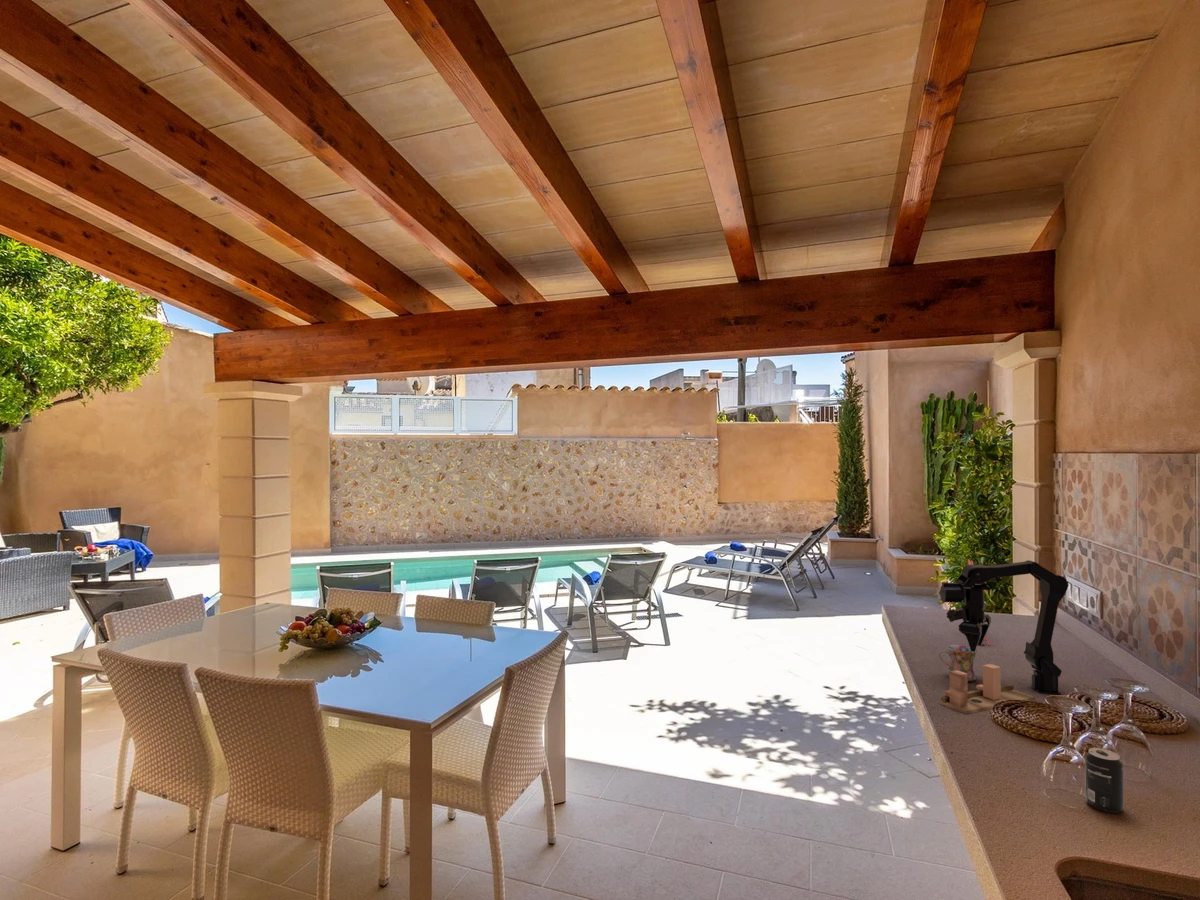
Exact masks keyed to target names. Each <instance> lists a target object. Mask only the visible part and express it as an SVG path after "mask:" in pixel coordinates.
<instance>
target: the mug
mask: <svg viewBox="0 0 1200 900" xmlns="http://www.w3.org/2000/svg"><path fill="white" fill-rule="evenodd" d="M947 650H948V651H947ZM947 650H940V651H939V653H938V657H939V658H940V660H941V661H942V662H943V663H944V664H945V665H946V666H948V670H950V671H956V670H958V671H961V672H964V673H967V682H972V681H976V679H977V676H976V675H975V672H974V660H975V657H976V655H977V653H978V650H977V649H976V650H975V652H973V651H971V649H970V646H969V645H965V646H963V645H962V644H961V645H960V644H952V645H948V646H947ZM941 653H946V654H947V655H948V656H949V658H950V660H951V661H950V662H951V665H950V664H948V663H947V662H946V661H945V660H943V658H942V657H941ZM950 671H949V672H950ZM948 676H949V677H950V675H949V674H948Z"/></svg>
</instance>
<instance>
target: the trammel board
mask: <svg viewBox="0 0 1200 900" xmlns="http://www.w3.org/2000/svg"><path fill="white" fill-rule="evenodd" d="M949 675H950V676H949ZM948 676H949V689H948V690H943V691H942V694H943V695H941V696H940V701H939V702H940V705H942V706H944V707H947V708H949V709H952V710H954V711H957V712H960V713H961V714H963V715H970V714H973V713H979V712H985V711H989V710H992V709H991V707H992V706H993V705H994V704H995V703H996V702H1001V701H1006V700H1034V701H1036V697H1035V696H1033V695H1031V694H1027V693H1024V692H1021V691H1018V690H1015V689H1014V684H1011V683H1006V684H1001V698H1000V699H995V700H992V699H989V698H987V697H984V696H983V690H980V689H974V690H969V691H968V681H967V673H964V672H961V671H958V670H956V671H949V672H948Z"/></svg>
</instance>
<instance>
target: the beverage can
mask: <svg viewBox="0 0 1200 900" xmlns="http://www.w3.org/2000/svg"><path fill="white" fill-rule="evenodd" d="M1120 757H1121V756H1120V755H1119V754H1118V753H1116V752H1114V751H1113V750H1112V751H1111V750H1109V749H1105V748H1099V747H1092V748H1088V753H1086V754H1085V757H1084V783H1085V784H1084V785H1085V786H1084V789H1085V790H1084V791H1085V792H1084V794H1085V796H1084V797H1085V800H1086V802H1087V803H1088V804H1089V805H1090V806H1092V807H1093V808H1094V809H1097V810H1099V811H1101V812H1104V813H1109V814H1110V813H1111V814H1115V813H1118V812H1121V811H1123V810H1124V809H1125V808H1124V806H1125V805H1124V803H1125V802H1124V799H1125V798H1124V797H1125V794H1124V791H1125V789H1124V785H1125V784H1124V783H1125V782H1124V781H1125V780H1124V779H1125V778H1124V770H1125V769H1124V768H1125V767H1124V763H1123V762H1122V761H1121V758H1120Z"/></svg>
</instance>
